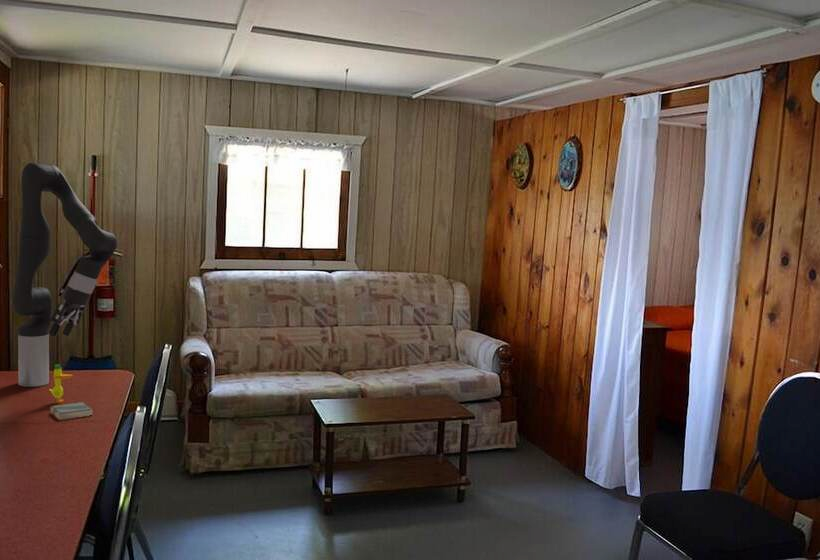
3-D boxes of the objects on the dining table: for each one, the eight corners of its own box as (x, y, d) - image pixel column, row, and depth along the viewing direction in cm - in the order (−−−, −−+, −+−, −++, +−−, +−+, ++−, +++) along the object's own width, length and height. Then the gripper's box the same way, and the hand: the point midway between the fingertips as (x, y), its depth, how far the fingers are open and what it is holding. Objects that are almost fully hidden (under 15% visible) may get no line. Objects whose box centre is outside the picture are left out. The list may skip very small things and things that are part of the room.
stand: (50, 412, 210) (50, 406, 209) (82, 408, 216) (82, 401, 215) (59, 420, 203) (59, 413, 203) (92, 415, 209) (92, 408, 209)
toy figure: (72, 400, 224) (73, 363, 223) (71, 403, 221) (71, 365, 219) (49, 401, 222) (49, 363, 220) (47, 404, 218) (47, 366, 217)
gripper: (79, 285, 232) (59, 330, 231) (58, 282, 218) (36, 330, 217) (100, 293, 232) (80, 339, 231) (80, 291, 218) (58, 340, 217)
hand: (59, 335), depth 224 cm, fingers open, 8 cm apart
